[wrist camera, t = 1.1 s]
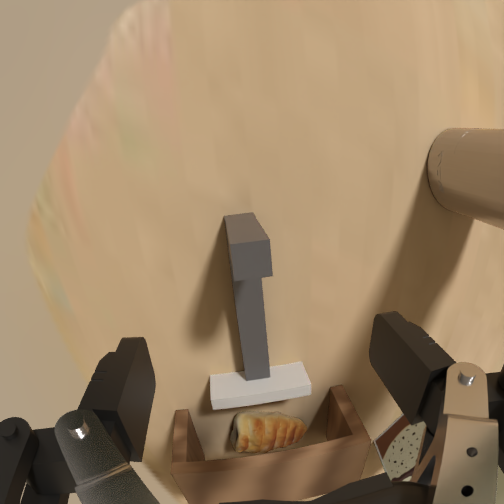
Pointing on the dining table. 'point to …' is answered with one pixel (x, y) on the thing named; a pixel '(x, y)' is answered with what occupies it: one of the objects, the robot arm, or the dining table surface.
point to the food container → (400, 448)
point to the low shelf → (273, 462)
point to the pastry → (265, 431)
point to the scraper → (253, 325)
